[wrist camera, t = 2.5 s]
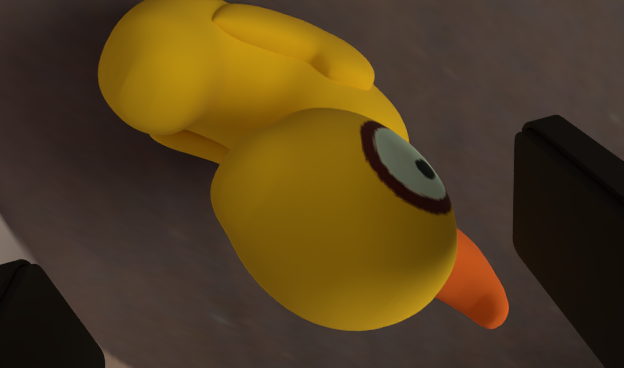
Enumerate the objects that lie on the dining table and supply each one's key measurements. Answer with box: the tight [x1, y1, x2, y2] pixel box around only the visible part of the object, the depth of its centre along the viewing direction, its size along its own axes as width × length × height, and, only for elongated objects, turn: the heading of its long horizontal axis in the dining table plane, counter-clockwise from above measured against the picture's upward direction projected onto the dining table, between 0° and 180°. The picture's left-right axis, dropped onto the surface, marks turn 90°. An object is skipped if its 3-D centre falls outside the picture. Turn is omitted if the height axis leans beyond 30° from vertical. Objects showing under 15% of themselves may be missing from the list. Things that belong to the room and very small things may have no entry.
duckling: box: [98, 0, 509, 331], centre depth 13 cm, size 11×5×10 cm, turn 55°
